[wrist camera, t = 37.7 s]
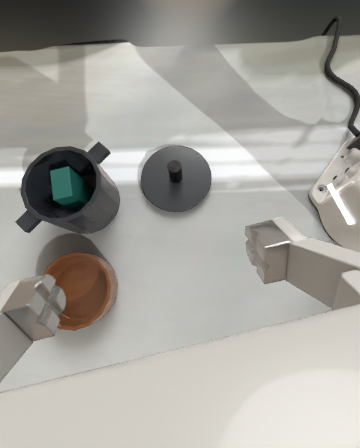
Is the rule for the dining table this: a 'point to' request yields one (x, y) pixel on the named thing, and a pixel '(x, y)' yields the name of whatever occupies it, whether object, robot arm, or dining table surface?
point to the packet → (70, 189)
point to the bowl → (83, 288)
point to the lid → (176, 178)
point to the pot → (55, 212)
